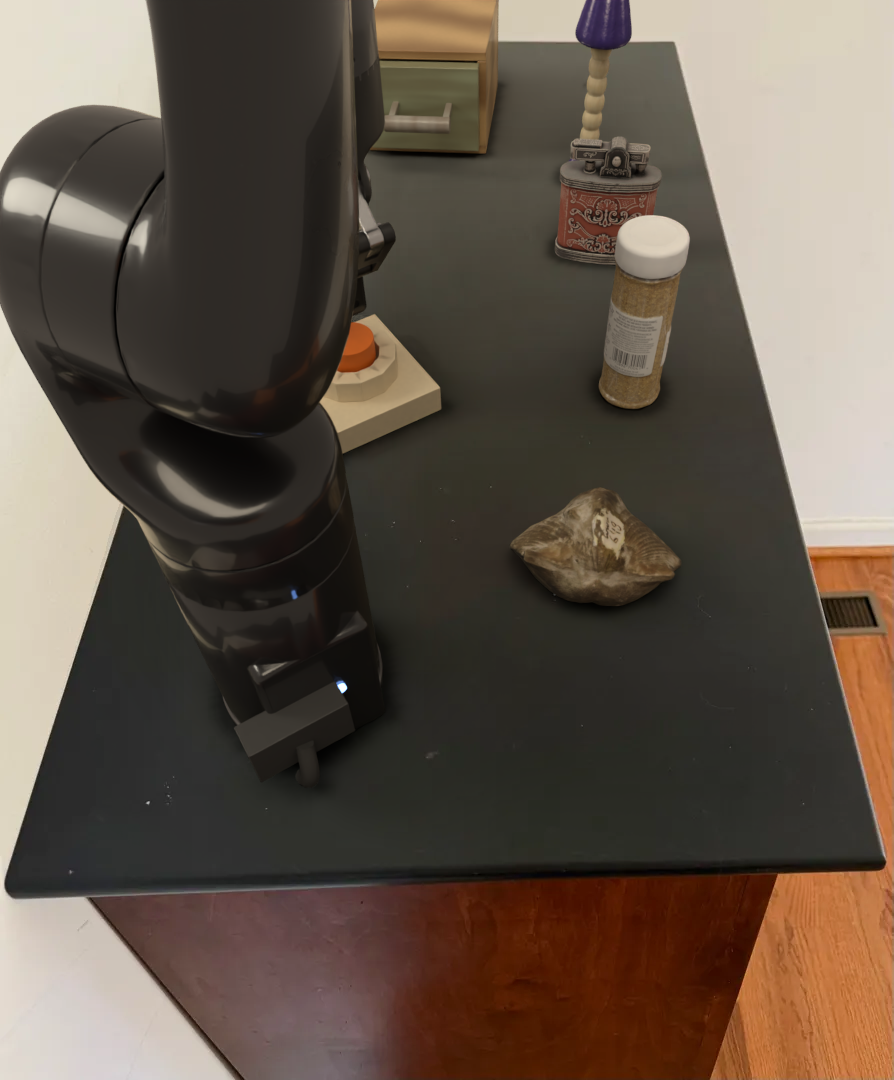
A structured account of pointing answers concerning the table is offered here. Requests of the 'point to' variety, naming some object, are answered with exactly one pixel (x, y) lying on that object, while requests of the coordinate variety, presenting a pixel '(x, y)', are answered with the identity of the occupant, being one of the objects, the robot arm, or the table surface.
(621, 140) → the lighter
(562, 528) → the fossilized seashell
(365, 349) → the button
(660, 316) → the spice jar
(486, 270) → the table surface
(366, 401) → the button block
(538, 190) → the table surface
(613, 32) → the toy lamp
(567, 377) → the table surface
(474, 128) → the drawer
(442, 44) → the cabinet
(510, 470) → the table surface
